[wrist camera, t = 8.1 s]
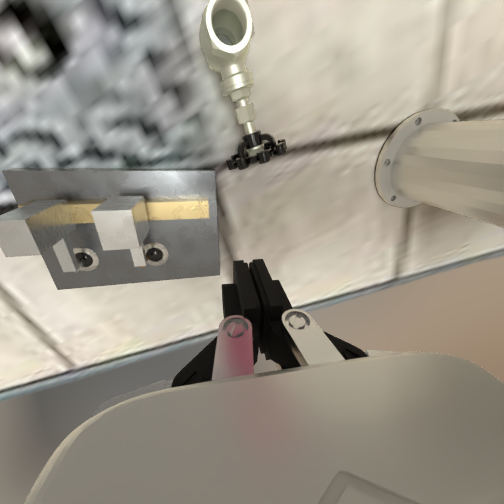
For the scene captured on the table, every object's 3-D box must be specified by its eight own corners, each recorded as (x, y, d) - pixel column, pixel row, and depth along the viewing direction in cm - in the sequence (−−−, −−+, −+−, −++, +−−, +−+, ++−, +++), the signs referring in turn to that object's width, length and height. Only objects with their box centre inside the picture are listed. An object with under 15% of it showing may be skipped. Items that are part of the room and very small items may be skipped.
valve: (179, 35, 20) (225, 166, 26) (172, -3, 15) (233, 174, 21) (246, 12, 21) (277, 147, 27) (264, -35, 15) (298, 150, 21)
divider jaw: (146, 192, 24) (130, 209, 19) (158, 258, 28) (149, 288, 22) (115, 193, 23) (90, 211, 18) (133, 260, 27) (116, 292, 22)
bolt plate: (214, 169, 26) (220, 183, 18) (219, 269, 33) (225, 311, 25) (13, 168, 22) (-87, 186, 15) (64, 282, 29) (14, 337, 21)
